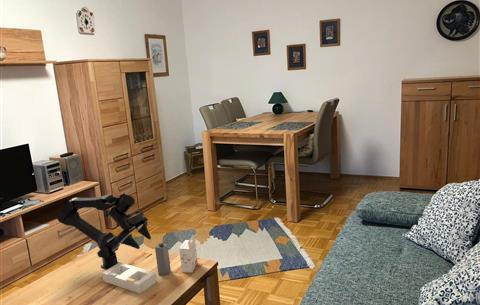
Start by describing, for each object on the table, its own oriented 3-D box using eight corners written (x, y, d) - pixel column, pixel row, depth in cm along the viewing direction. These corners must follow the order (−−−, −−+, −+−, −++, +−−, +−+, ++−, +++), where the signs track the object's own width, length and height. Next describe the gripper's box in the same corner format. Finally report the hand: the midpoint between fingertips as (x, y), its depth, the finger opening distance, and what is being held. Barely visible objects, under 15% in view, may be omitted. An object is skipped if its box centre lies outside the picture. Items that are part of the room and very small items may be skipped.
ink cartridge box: (187, 262, 181) (184, 233, 178) (197, 263, 180) (195, 233, 177) (181, 272, 173) (178, 242, 169) (192, 273, 172) (188, 242, 168)
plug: (158, 274, 173) (154, 245, 169) (162, 269, 176) (159, 241, 173) (166, 275, 171) (162, 246, 168) (170, 270, 175) (167, 241, 172)
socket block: (103, 281, 170) (101, 272, 169) (120, 270, 178) (119, 261, 177) (140, 293, 159) (138, 284, 158) (157, 281, 167) (155, 272, 166)
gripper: (117, 215, 162) (143, 242, 162) (142, 199, 180) (165, 224, 179) (104, 230, 167) (129, 257, 166) (129, 214, 184) (152, 238, 183)
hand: (145, 243), depth 173 cm, fingers open, 9 cm apart
